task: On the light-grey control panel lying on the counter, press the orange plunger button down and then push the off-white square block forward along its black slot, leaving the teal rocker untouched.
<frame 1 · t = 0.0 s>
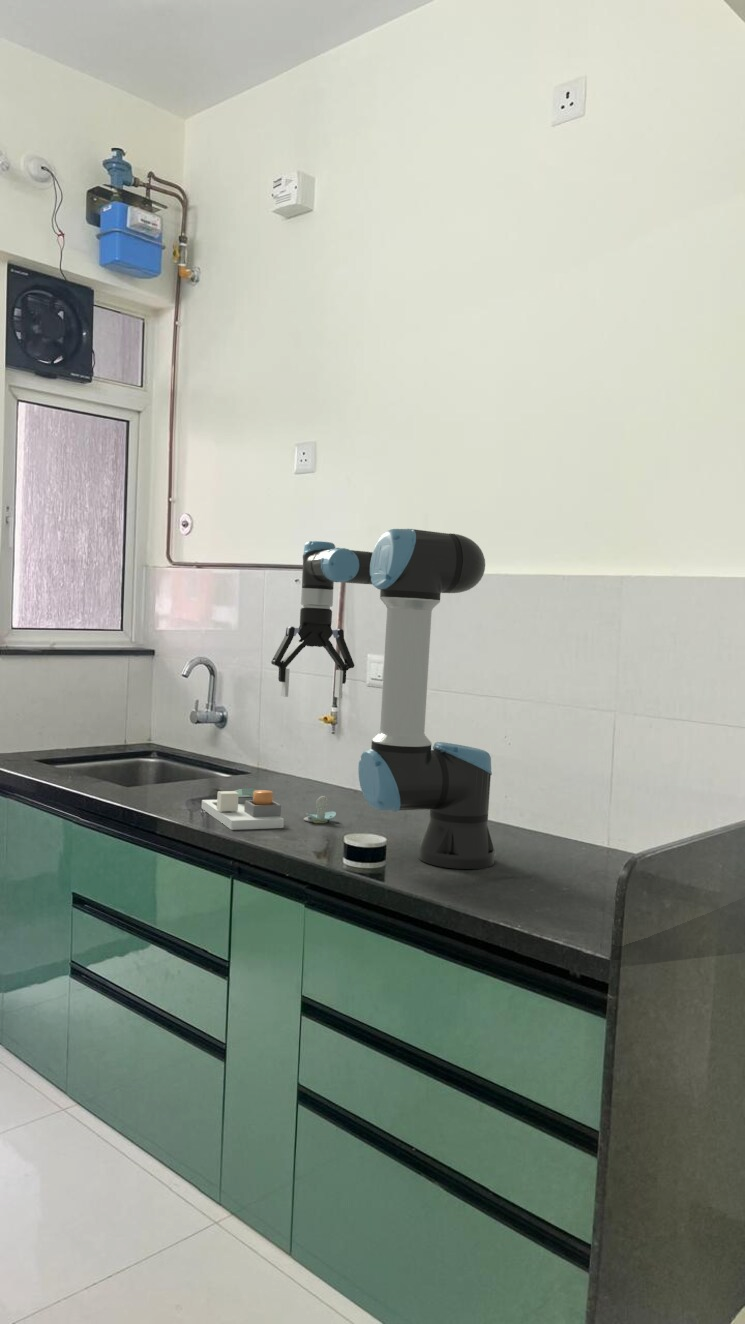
hand: (311, 696, 240), 28 cm above the worktop, fingers open, 13 cm apart
plunger button: (263, 798, 228), point 6 cm above the worktop, slide at 0.0 cm
panel: (240, 817, 232), on the worktop
off-white square block: (227, 801, 228), point 4 cm above the worktop, slide at 0.0 cm
pacifier: (318, 822, 233), on the worktop
rocker: (245, 792, 239), point 4 cm above the worktop, hinge at 15.0°
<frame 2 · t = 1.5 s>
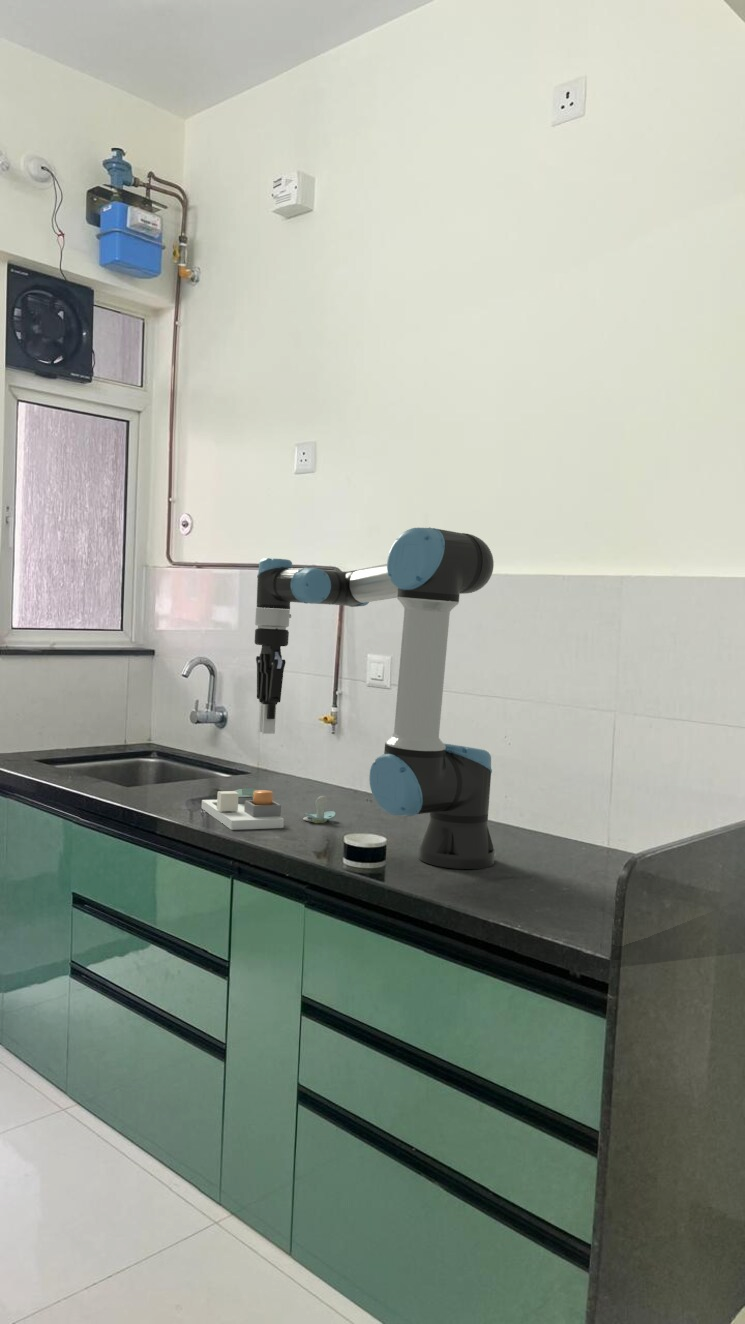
hand: (266, 732, 227), 20 cm above the worktop, fingers closed
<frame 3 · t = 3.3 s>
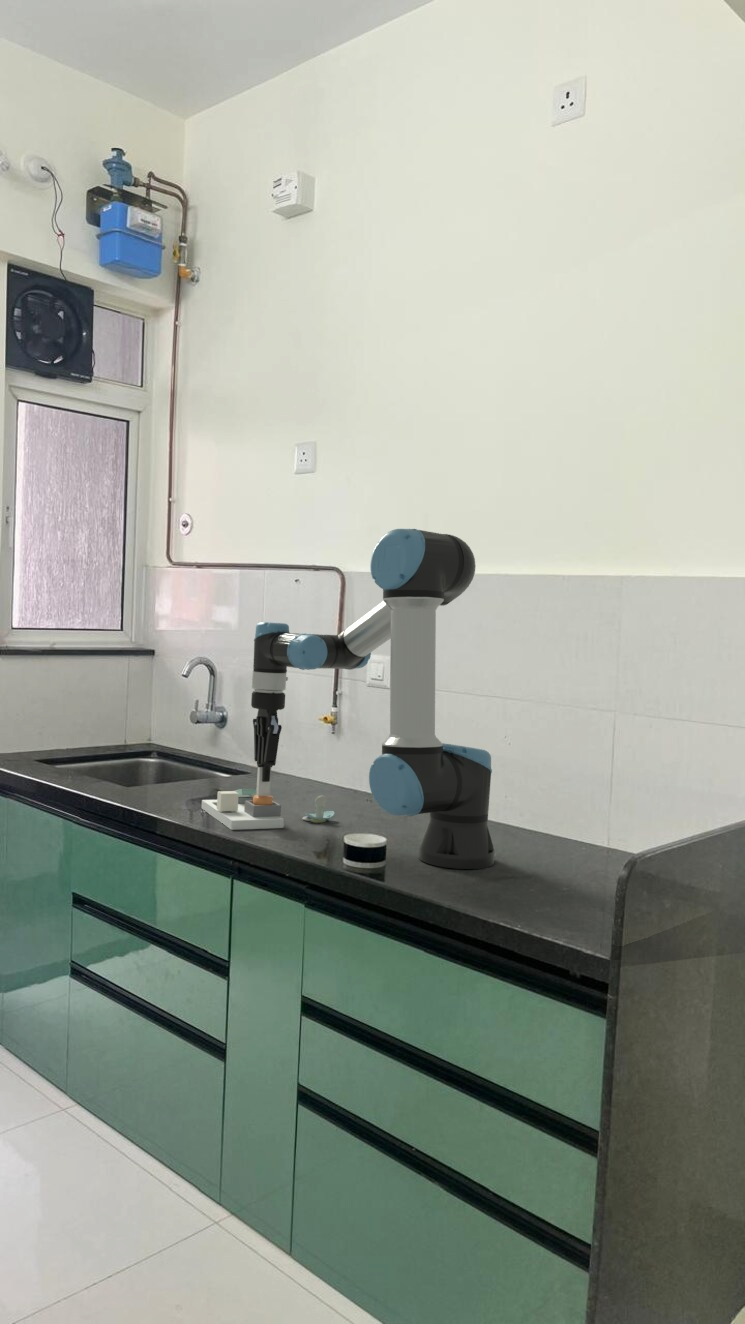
hand: (262, 795, 228), 6 cm above the worktop, fingers closed
plunger button: (262, 803, 228), point 4 cm above the worktop, slide at 1.0 cm, touching gripper
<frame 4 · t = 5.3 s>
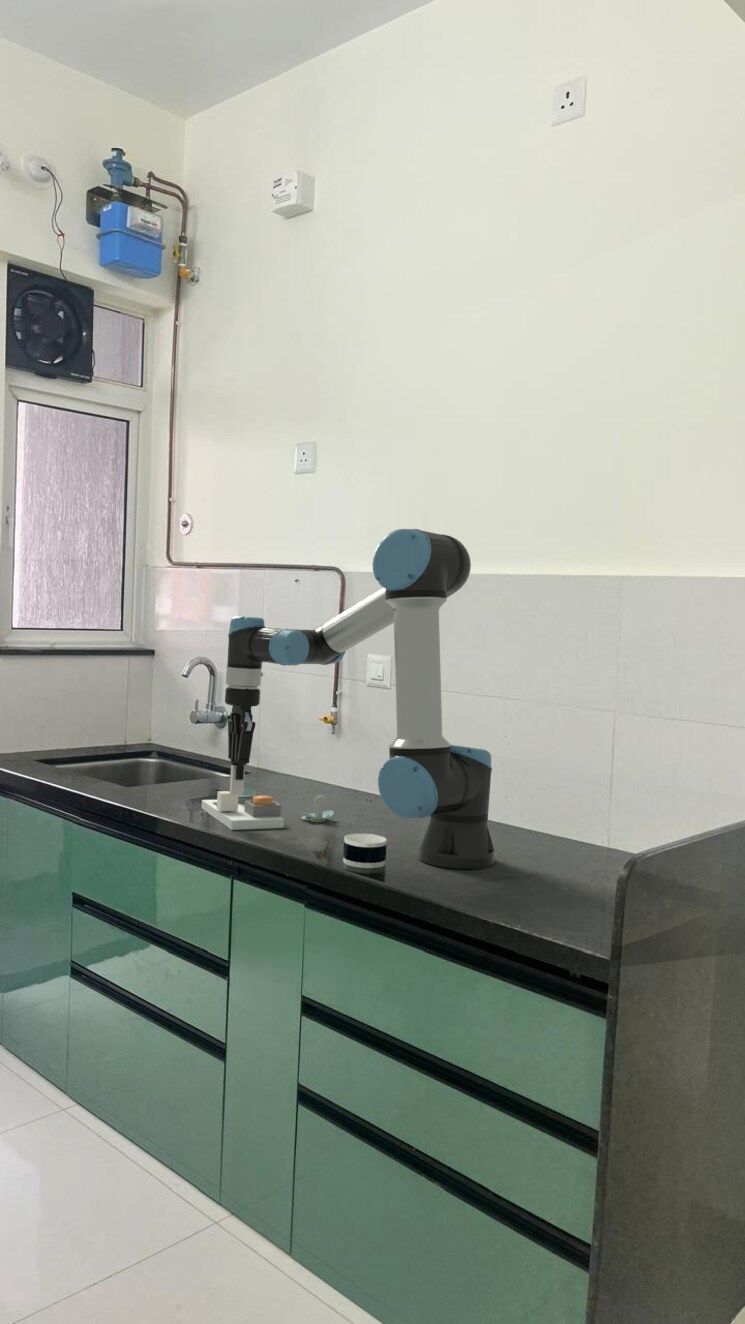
hand: (236, 793, 222), 7 cm above the worktop, fingers closed
plunger button: (262, 803, 228), point 4 cm above the worktop, slide at 1.2 cm
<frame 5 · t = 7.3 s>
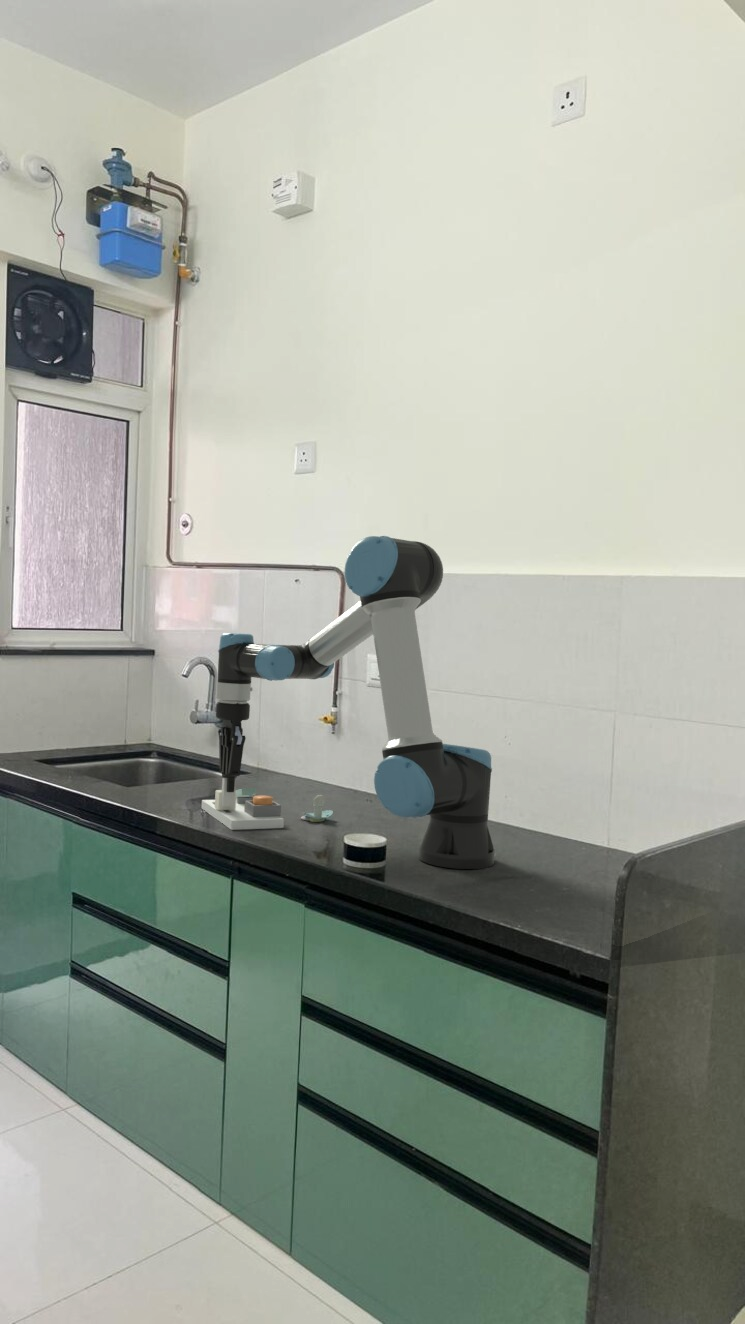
hand: (227, 805, 228), 3 cm above the worktop, fingers closed
off-white square block: (225, 799, 230), point 4 cm above the worktop, slide at 1.7 cm, touching gripper
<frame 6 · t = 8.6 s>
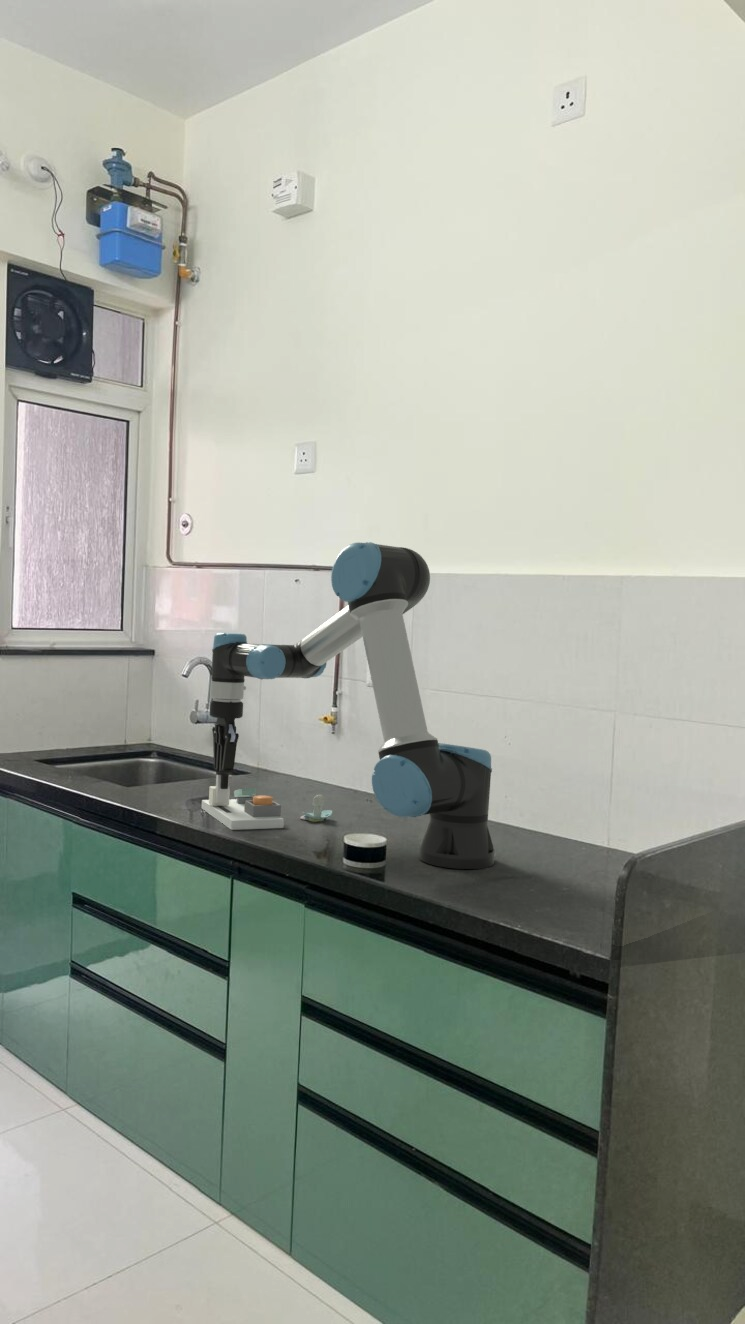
hand: (221, 802, 232), 3 cm above the worktop, fingers closed
off-white square block: (219, 795, 234), point 4 cm above the worktop, slide at 6.7 cm, touching gripper
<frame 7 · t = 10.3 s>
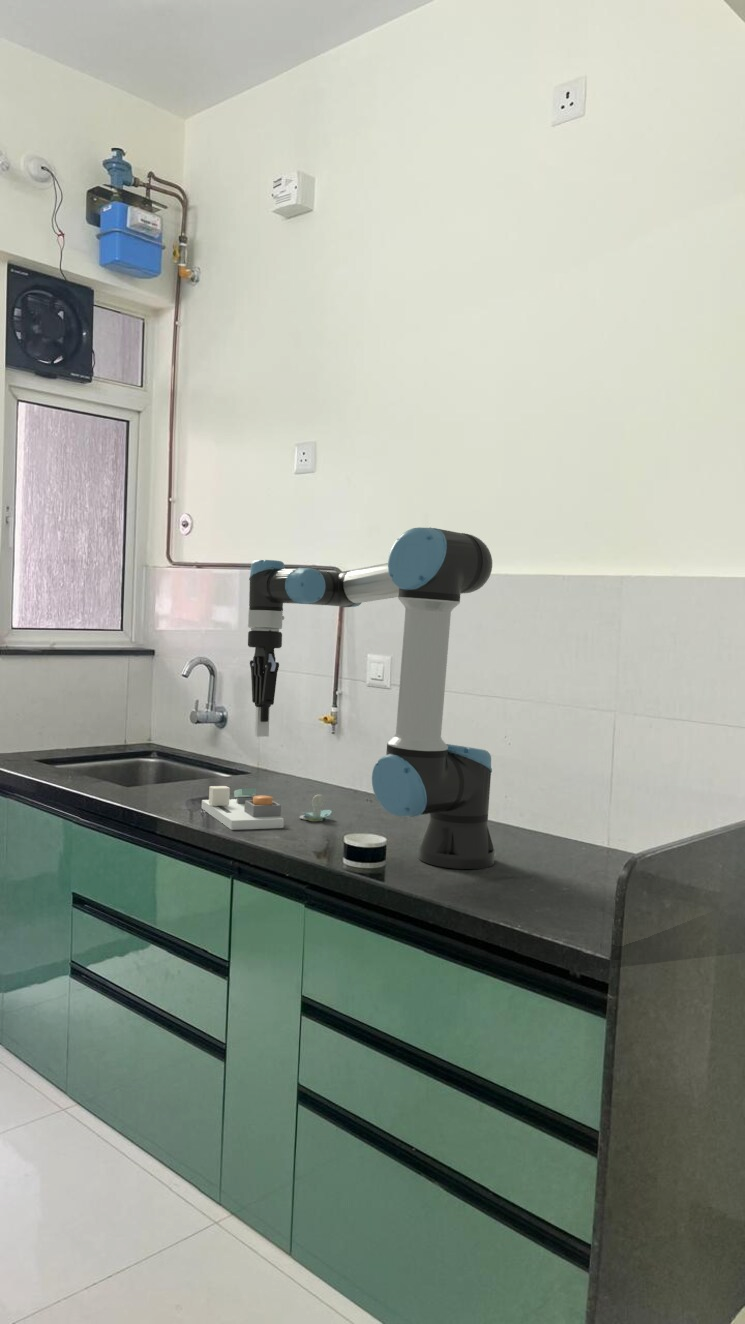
hand: (261, 736, 225), 20 cm above the worktop, fingers closed
off-white square block: (219, 795, 234), point 4 cm above the worktop, slide at 6.7 cm
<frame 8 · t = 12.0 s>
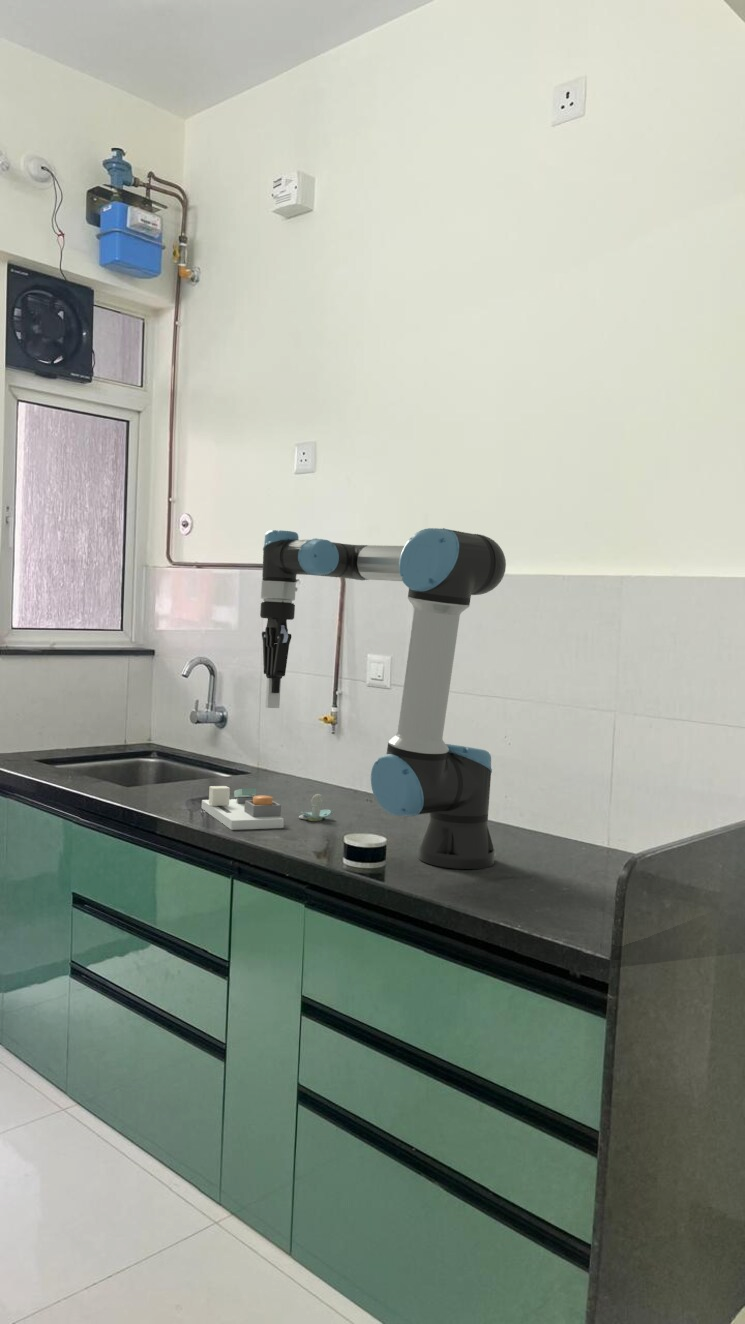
hand: (272, 707, 224), 26 cm above the worktop, fingers closed
at the end: plunger button slide at 1.2 cm; off-white square block slide at 6.7 cm; rocker at +15° (first picture: +15°) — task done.
